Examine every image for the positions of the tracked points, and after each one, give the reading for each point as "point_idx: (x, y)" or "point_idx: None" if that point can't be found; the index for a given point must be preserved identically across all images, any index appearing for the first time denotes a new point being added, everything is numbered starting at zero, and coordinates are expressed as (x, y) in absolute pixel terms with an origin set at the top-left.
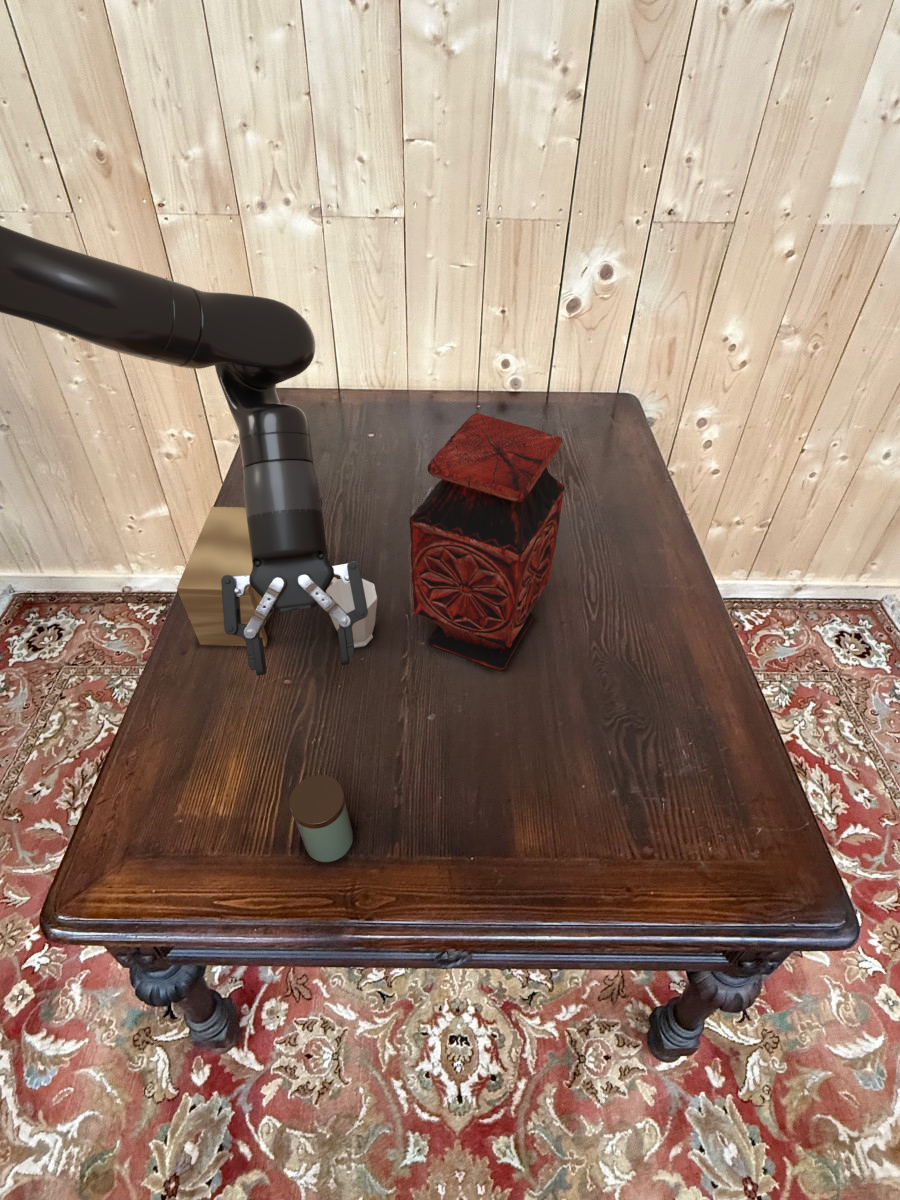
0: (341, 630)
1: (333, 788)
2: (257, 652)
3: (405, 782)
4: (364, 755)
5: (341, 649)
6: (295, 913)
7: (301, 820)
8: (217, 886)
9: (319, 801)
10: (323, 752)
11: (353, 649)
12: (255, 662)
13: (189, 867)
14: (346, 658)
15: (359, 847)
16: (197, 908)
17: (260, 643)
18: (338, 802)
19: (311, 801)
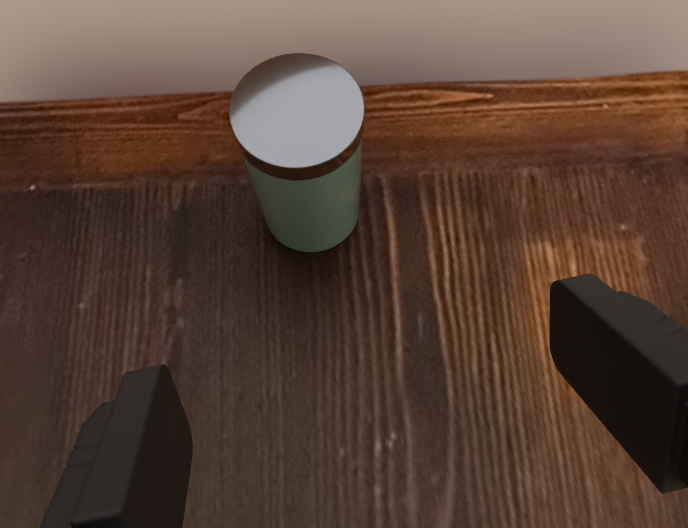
0: (94, 507)
1: (257, 133)
2: (636, 330)
3: (157, 337)
4: (257, 403)
5: (140, 412)
6: None
7: (323, 58)
8: (496, 118)
9: (288, 102)
10: (360, 407)
11: (80, 437)
12: (619, 298)
13: (561, 144)
14: (127, 379)
15: (249, 195)
16: (516, 85)
17: (648, 394)
18: (240, 102)
19: (308, 101)
